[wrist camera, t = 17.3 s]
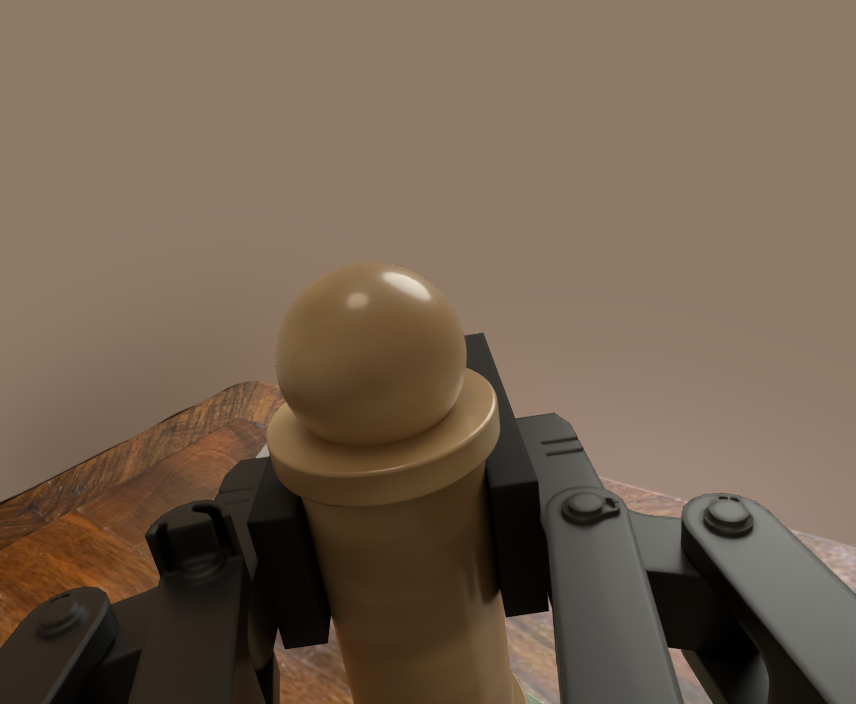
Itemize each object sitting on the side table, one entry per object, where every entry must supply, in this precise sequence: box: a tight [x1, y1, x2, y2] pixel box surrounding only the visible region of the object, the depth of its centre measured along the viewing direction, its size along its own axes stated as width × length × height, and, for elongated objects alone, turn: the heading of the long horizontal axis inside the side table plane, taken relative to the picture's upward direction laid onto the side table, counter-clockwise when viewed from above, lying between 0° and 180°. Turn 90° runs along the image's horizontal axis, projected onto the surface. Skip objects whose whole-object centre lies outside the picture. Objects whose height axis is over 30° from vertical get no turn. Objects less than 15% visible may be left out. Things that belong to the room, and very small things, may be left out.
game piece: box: [266, 262, 529, 704], centre depth 12 cm, size 4×4×11 cm
